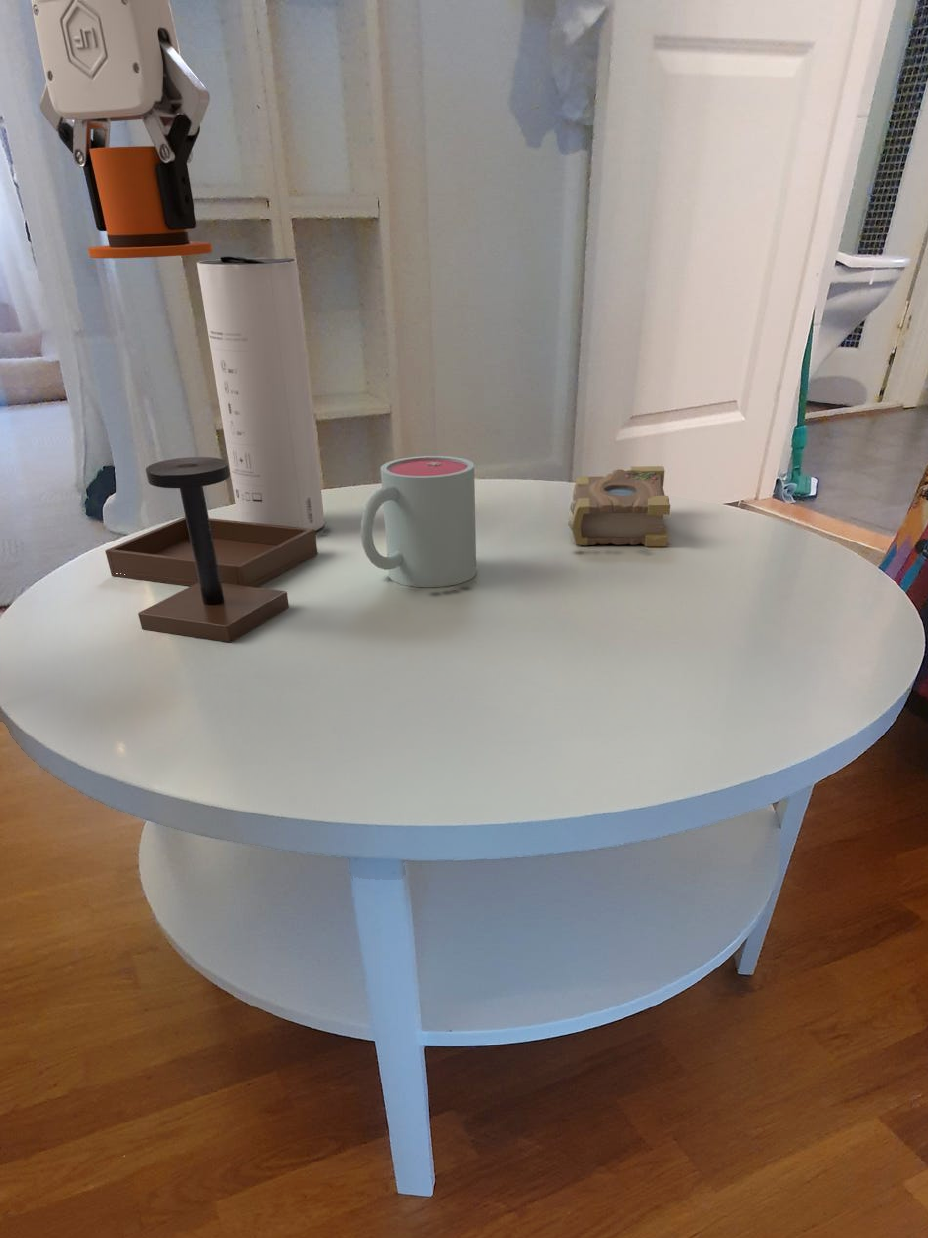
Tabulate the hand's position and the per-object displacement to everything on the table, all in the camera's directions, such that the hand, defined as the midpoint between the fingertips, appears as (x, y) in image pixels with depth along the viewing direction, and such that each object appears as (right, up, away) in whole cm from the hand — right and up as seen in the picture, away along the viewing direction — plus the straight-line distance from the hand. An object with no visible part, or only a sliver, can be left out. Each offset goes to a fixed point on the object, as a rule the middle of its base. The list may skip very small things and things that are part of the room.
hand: (146, 227), depth 77 cm
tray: (-1, -16, +25) cm, 30 cm away
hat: (0, -1, +1) cm, 2 cm away
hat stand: (+2, -27, +13) cm, 30 cm away
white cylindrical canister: (+4, -7, +36) cm, 37 cm away
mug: (+21, -20, +20) cm, 36 cm away
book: (+44, -9, +32) cm, 55 cm away
